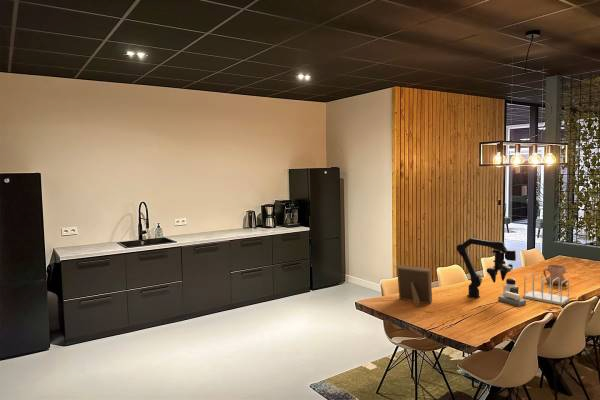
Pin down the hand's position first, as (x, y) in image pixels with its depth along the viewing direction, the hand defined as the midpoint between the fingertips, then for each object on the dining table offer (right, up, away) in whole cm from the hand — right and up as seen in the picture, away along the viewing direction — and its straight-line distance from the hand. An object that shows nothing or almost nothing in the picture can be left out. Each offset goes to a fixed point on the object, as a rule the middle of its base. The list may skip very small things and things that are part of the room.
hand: (498, 281), depth 307 cm
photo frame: (-60, -14, -3) cm, 61 cm away
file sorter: (+34, -13, +3) cm, 37 cm away
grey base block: (+7, -13, -5) cm, 16 cm away
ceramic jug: (+62, -9, +40) cm, 74 cm away
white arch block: (+7, -13, -5) cm, 16 cm away
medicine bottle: (+14, -12, +11) cm, 21 cm away
